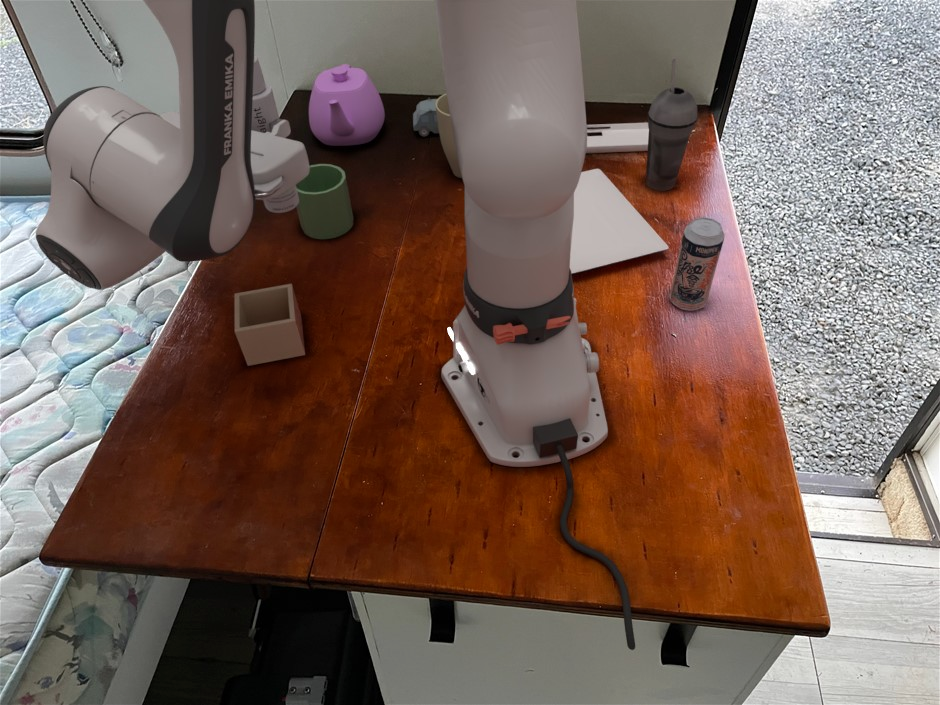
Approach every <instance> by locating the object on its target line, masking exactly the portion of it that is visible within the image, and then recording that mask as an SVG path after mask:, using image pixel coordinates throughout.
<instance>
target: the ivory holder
mask: <svg viewBox="0 0 940 705" xmlns="http://www.w3.org/2000/svg"><path fill="white" fill-rule="evenodd" d="M303 329H304V328H303V320H302V315H301V311H300V308H299V304H298V300H297V297H296V293H295V290H294V287H293V283H287V284H282V285H275V286H270V287H265V288H259V289H253V290H247V291H242V292H241V291H240V292H235V293H234V334H235V337H236V339H237V342H238V345H239V347H240V349H241V353H242V356H243V357H244V360H245V363H246V365H247V366H248V367H249V366H254V365H259V364H266V363H271V362H275V361H282V360H286V359H291V358H292V359H293V358H297V357H302V356H306V350H305V348H306V347H305V339H304V330H303Z"/></svg>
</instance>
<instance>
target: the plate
mask: <svg viewBox="0 0 940 705" xmlns="http://www.w3.org/2000/svg"><path fill="white" fill-rule="evenodd" d="M669 247H670V246H669V245H668V244H667V243H666V242H665V240H663V238H662V237H661V236H660V235H659V234H658V233H657V232H656V230H655V229H654V228H653V227H652V226H651V225H650V224H649V223H648V222H647V221H646V219H645V218H644V217H643V216H642V215H641V214H640V212H639V211H638V210H637V209H636V208H635V207H634V206H633V204H632V203H631V202H630V201H629V200H628V199H627V197H625V196H624V195H623V193H622V192H621V191H620V190H619V189H618V188H617V187H616V185H615V184H614V183H613V182H612V181H611V179H610V178H609V177H608V176H607V175H606V174H605V173H604V172H603V171H602V170H601V168H594V169H588V170H585V171H581V175H580V179H579V182H578V185H577V187H576V189H575V191H574V220H573V232H572V244H571V256H570V270H571V273H572V275H575V274H579V273H583V272H587V271H591V270H595V269H598V268H602V267H606V266H610V265H615V264H618V263H623V262H625V261H629V260H633V259H634V260H635V259H636V258H642V257H645V256H649V255H653V254H657V253H661V252H664V251H668V250H669Z"/></svg>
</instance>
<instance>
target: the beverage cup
mask: <svg viewBox="0 0 940 705" xmlns="http://www.w3.org/2000/svg"><path fill="white" fill-rule="evenodd" d="M676 63H677V60H676V58H672V59H671V71H670V73H671V74H670V87H668V88H666V89H664V90H662V91H661V92H660V93H658V94H657V95H656V96H655V98H654V99H653V100H652V103H651V105H650V107H649V110H648V112H647V123H648V128H649V136H648V151H646V154H647V155H646V169H645V174H646V175H645V178H646V179H645V184H646V186H647V187H648V188H650V189H651V190H654V191H658V192H666V191H670V190H672V189H673V188H674V187H675V184H676V181H677V179H678V176H679V173H680V169H681V166H682V164H683V160H684V156H685V154H686V150H687V147H688V143H689V139H690V136H691V134H692V132H693V130H694V128H695V125H696V123H697V122H698V119H699V118H698V104H697V101H696V99H695V97H694V96H693V95H692V93H690V92H689V91H688V90H687V89H685V88H682V87H675V86H676V66H677V64H676Z"/></svg>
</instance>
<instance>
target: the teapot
mask: <svg viewBox="0 0 940 705" xmlns="http://www.w3.org/2000/svg"><path fill="white" fill-rule="evenodd" d="M385 117H386V113H385V108H384V104H383V100H382V98H381V95H380V93H379V91H378V89H377V87H376V86H375V84H374V83H373V81H372V80H371V78H370V76H369V74H368V73H367V72H366V71H365V70H364V69H362V68H359V67H352V66H351V65H350V64H349V63H343V64H340V65H339V66H334V67H333V68H329V69H325V70H323V71H322V72H320V73H319V74H318V76H317V77H316V78H315V80H314V83H313V86H312V90H311V94H310V98H309V102H308V122H309V127H310V130H311V133H312V134H313V135H314V137H315V138H316V139H318V140H319V141H320V142H321V143H322V144H323V145H327V146H332V147H333V146H336V147H344V146H345V147H346V146H347V147H348V146H357V145H364V144H367V143H369V142H372V141H373V140H374V139H375V138H376V137H377V136H378V135H379V133H380V132H381V130H382V127H383V125H384V124H385V119H386V118H385Z"/></svg>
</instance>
